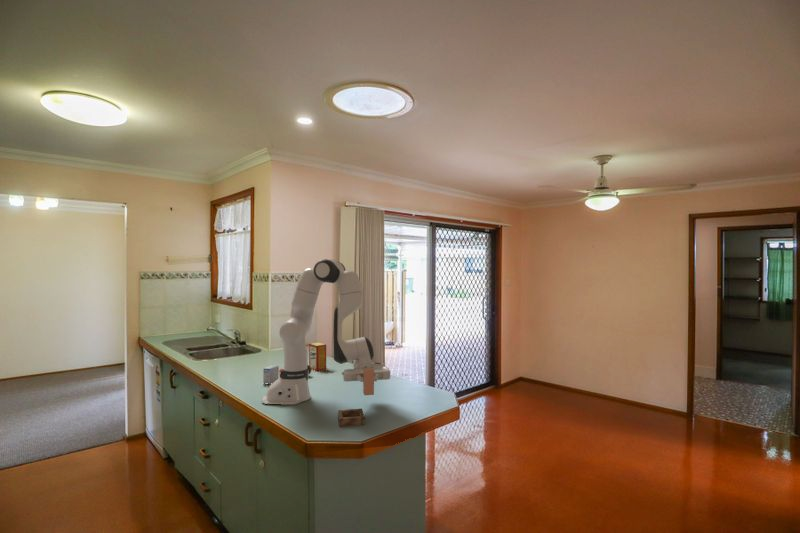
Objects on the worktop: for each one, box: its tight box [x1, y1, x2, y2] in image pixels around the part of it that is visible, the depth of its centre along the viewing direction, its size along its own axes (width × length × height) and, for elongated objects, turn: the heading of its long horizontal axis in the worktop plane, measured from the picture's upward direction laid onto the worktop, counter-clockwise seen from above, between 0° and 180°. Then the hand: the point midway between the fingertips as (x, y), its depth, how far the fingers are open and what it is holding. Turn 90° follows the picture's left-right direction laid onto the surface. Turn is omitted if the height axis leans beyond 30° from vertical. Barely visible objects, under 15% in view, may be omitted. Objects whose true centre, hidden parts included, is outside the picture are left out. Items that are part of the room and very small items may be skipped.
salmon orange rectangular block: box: [362, 368, 375, 396], centre depth 161 cm, size 4×4×10 cm
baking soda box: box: [308, 342, 327, 372], centre depth 243 cm, size 10×6×16 cm
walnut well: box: [337, 408, 366, 428], centre depth 158 cm, size 10×10×3 cm
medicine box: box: [262, 364, 280, 384], centre depth 213 cm, size 8×4×9 cm, turn 163°
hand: (368, 379), depth 160 cm, fingers closed on salmon orange rectangular block, 4 cm apart
